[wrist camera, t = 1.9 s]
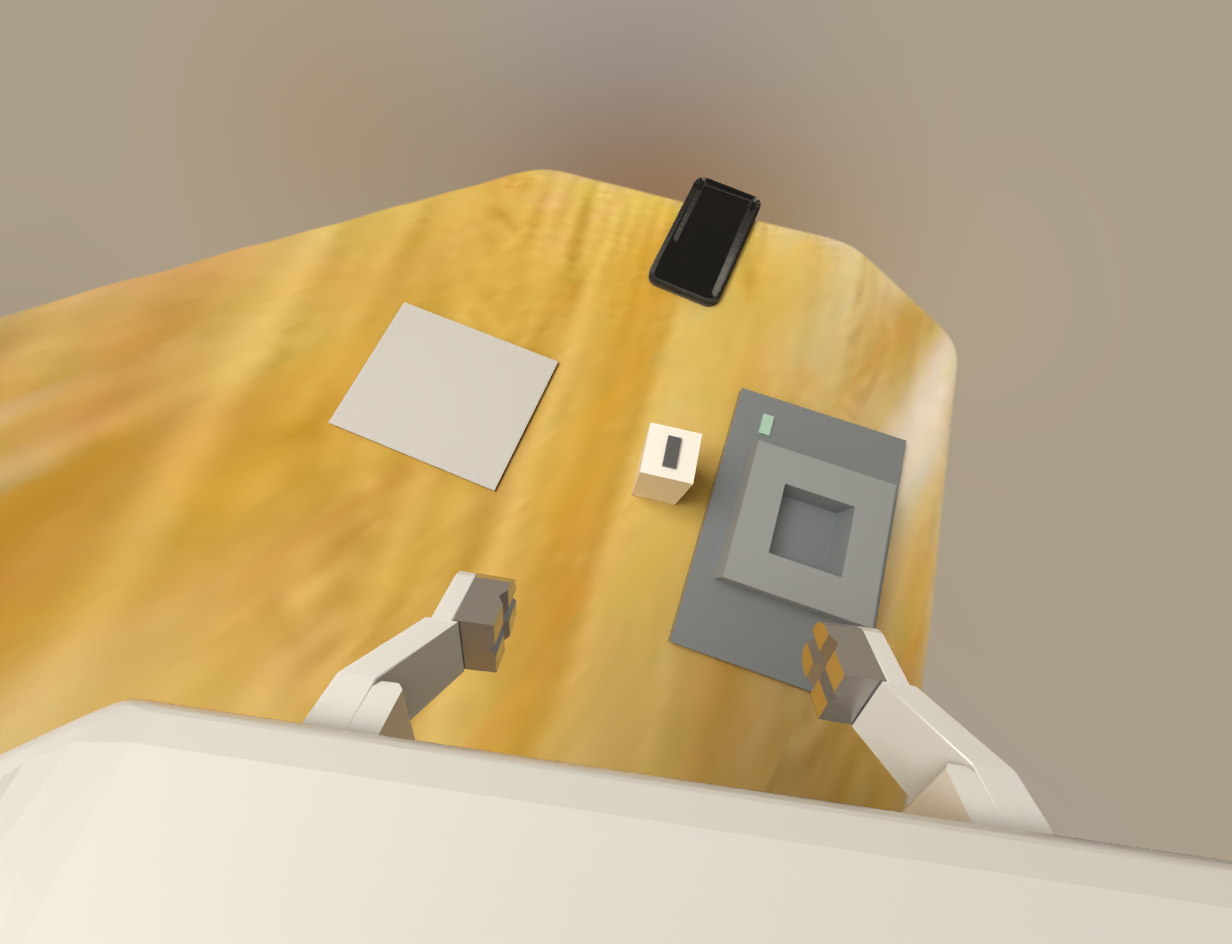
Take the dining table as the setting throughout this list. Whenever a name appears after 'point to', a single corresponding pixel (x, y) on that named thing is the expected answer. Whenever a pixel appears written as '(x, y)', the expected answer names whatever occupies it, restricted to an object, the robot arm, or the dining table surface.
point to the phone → (704, 242)
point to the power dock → (789, 536)
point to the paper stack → (446, 395)
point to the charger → (667, 464)
